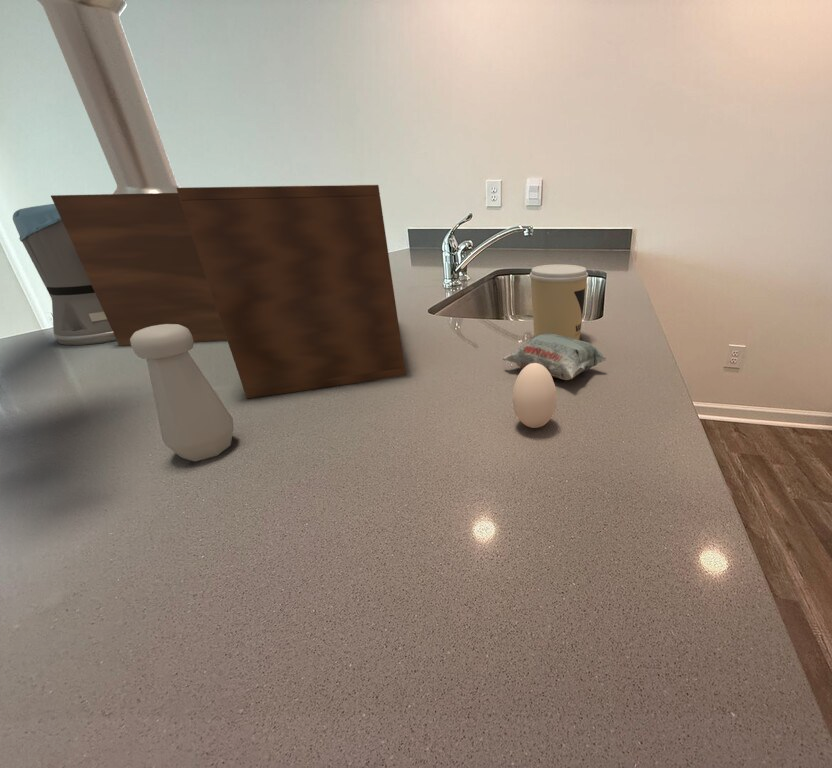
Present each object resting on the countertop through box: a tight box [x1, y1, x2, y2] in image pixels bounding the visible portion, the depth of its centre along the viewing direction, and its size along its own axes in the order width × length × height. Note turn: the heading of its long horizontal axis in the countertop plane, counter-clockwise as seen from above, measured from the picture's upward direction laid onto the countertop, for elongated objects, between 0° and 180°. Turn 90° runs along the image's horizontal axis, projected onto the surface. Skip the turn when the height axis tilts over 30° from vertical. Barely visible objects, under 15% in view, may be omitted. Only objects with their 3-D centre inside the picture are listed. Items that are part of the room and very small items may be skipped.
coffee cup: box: [529, 263, 589, 340], centre depth 68 cm, size 9×9×12 cm
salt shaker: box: [130, 324, 234, 462], centre depth 39 cm, size 6×6×13 cm
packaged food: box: [502, 334, 607, 381], centre depth 57 cm, size 9×12×5 cm
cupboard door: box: [50, 193, 227, 347], centre depth 71 cm, size 7×26×24 cm, turn 96°
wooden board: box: [176, 184, 407, 399], centre depth 61 cm, size 20×26×24 cm
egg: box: [512, 363, 558, 429], centre depth 43 cm, size 5×5×7 cm
